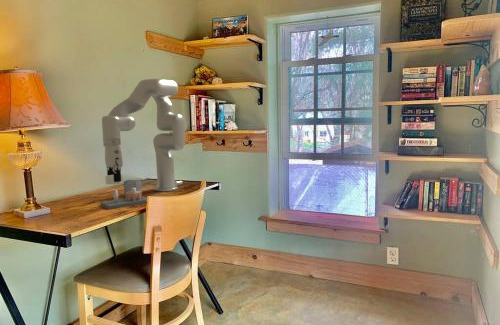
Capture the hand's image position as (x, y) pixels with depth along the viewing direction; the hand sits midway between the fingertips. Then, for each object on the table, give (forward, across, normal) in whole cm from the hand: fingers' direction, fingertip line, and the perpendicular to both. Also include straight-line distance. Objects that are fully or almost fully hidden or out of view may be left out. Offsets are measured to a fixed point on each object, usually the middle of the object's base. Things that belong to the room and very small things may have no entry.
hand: (114, 180), depth 176 cm
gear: (+1, 0, 0) cm, 1 cm away
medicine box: (+12, +12, -14) cm, 22 cm away
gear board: (+12, 0, -5) cm, 13 cm away
